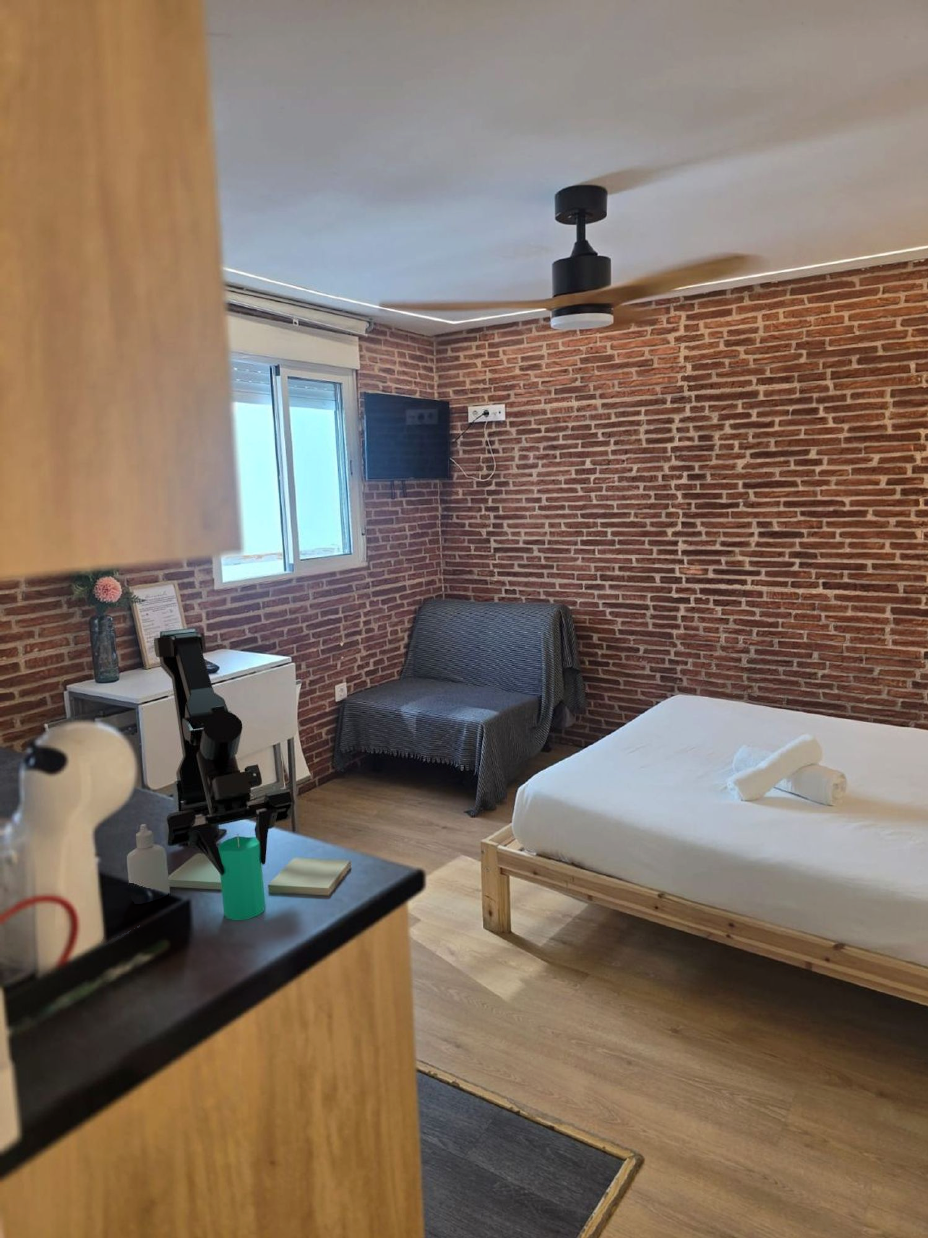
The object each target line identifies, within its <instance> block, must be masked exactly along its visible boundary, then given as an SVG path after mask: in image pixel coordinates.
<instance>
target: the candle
mask: <svg viewBox="0 0 928 1238" xmlns="http://www.w3.org/2000/svg"><path fill="white" fill-rule="evenodd" d="M217 848H218V850H219V854H220V858H221V862H222V864H223V867H224V874H223V875H221V874H220V878H221V888H222V890H221V896H222V897H221V898H222V906H223V915H224V916H225V918H226V919H228V920H233V921H244V920H248V919H251V918H254V917H257V916H259V915H261V914H262V913H263V912H264V911H265V908H266V899H265V887H264V875H263V865H262V863H261V853H260V842H259V841H258V840H257V838H256V836H252V837H251V836H250V837H247V836H239V833H237V834H236V836H234V837H231V838H228V839H226V840H224V841H223V842H221V843H219V845H218V846H217Z"/></svg>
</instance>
